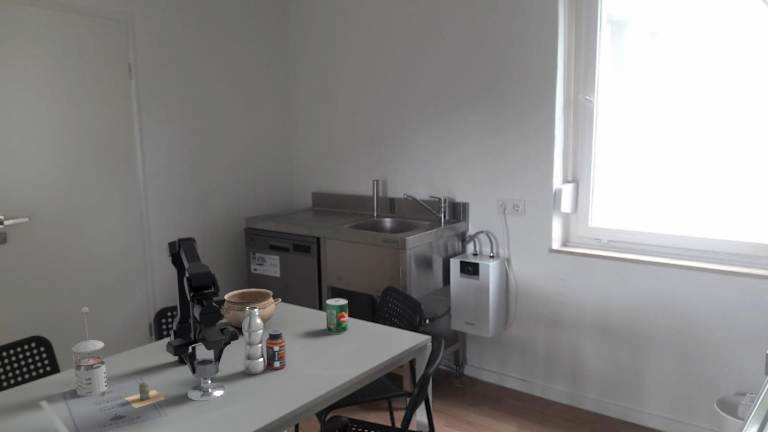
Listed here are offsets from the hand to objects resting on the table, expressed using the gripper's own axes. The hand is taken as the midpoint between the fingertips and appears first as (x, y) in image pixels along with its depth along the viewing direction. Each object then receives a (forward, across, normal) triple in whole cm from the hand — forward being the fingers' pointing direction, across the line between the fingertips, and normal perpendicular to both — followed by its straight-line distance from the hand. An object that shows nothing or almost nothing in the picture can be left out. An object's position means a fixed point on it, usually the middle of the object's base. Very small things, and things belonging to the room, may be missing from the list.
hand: (205, 370), depth 163 cm
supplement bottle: (+8, +25, +4) cm, 26 cm away
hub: (+7, 0, 0) cm, 7 cm away
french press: (+8, -23, +25) cm, 35 cm away
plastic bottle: (+8, +18, +5) cm, 20 cm away
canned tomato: (+8, +59, +17) cm, 62 cm away
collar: (+1, 0, 0) cm, 1 cm away
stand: (+7, -14, +8) cm, 18 cm away
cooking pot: (+8, +38, +43) cm, 58 cm away
